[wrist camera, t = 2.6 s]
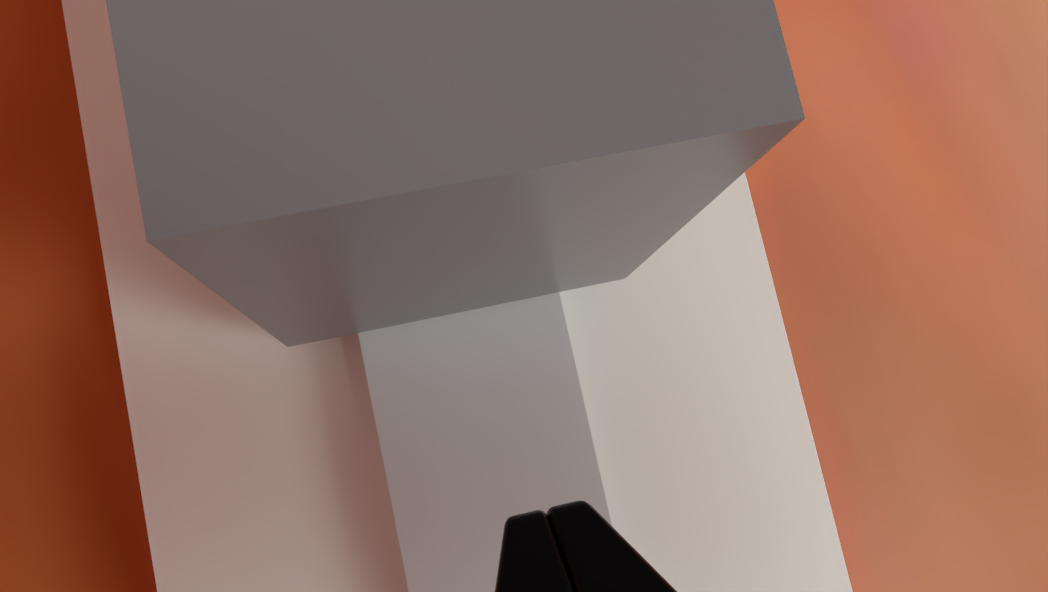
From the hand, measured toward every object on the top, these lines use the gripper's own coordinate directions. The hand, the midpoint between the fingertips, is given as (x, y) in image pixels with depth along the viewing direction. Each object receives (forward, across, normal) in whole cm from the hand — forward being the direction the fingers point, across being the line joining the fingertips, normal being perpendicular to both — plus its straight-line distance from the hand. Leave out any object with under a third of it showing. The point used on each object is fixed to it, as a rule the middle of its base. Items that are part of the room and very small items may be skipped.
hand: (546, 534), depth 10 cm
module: (+9, 0, +1) cm, 9 cm away
